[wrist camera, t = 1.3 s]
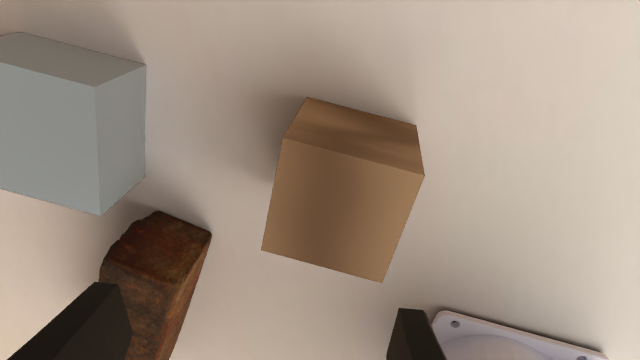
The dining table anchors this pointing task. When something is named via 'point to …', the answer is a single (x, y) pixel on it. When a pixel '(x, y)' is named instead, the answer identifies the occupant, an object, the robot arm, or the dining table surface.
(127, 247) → the brick
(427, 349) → the robot arm
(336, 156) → the walnut cube
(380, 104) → the dining table surface
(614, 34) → the dining table surface
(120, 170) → the slate block
